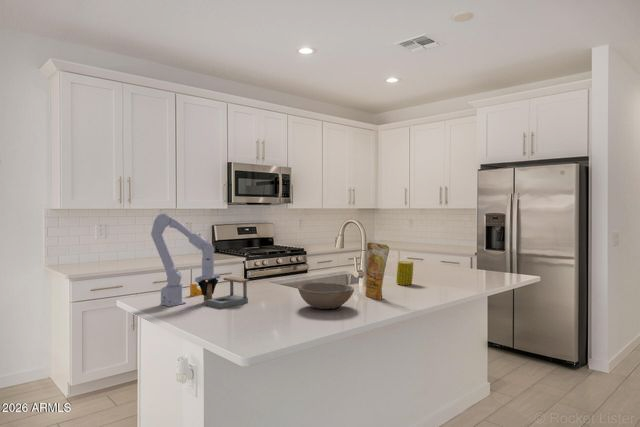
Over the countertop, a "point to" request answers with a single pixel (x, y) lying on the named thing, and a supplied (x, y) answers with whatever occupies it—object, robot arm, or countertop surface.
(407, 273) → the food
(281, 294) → the countertop surface
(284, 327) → the countertop surface
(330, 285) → the bowl
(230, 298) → the socket plate
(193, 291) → the pipe clamp
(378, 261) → the pancake mix bag
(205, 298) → the peg
